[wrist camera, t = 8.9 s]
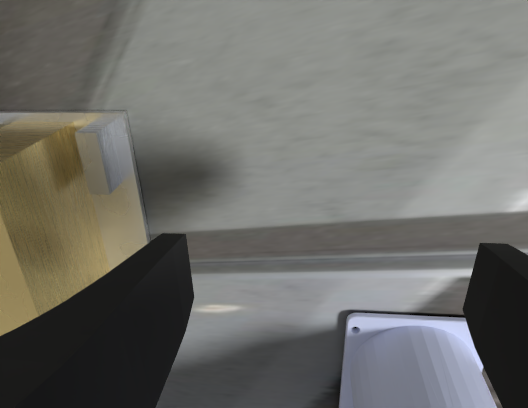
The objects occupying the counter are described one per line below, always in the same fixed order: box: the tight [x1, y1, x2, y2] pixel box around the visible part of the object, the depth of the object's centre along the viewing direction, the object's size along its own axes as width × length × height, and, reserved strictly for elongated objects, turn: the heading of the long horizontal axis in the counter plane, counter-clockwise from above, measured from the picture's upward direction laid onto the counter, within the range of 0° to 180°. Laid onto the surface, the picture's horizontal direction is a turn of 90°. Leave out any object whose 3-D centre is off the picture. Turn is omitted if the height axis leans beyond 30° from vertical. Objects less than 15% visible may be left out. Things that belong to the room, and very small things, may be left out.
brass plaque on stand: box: [0, 122, 110, 336], centre depth 20 cm, size 13×3×6 cm, turn 1°
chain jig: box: [0, 110, 150, 271], centre depth 22 cm, size 14×8×2 cm, turn 2°
